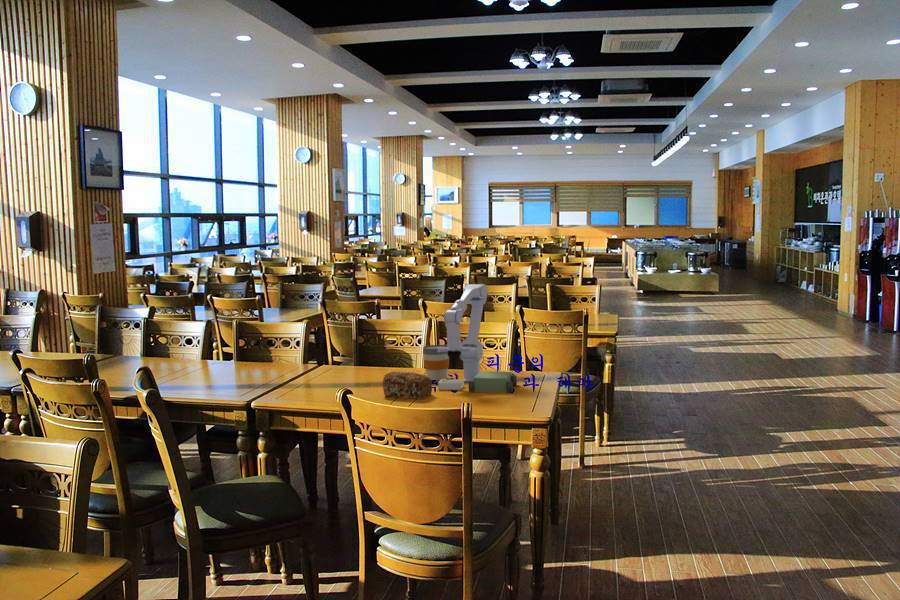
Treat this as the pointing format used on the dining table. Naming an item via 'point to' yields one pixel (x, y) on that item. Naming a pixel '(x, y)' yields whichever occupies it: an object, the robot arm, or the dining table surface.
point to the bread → (407, 385)
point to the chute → (450, 384)
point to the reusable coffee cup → (435, 362)
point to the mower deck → (493, 382)
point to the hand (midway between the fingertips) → (454, 368)
